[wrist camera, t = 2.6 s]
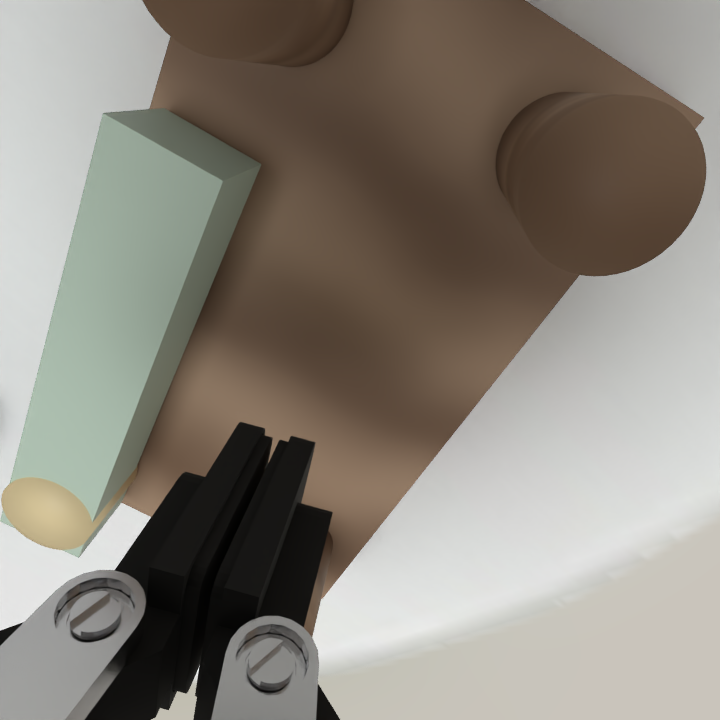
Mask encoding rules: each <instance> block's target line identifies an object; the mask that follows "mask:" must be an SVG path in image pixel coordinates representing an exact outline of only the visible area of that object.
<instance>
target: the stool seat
mask: <svg viewBox="0 0 720 720" xmlns="http://www.w3.org/2000/svg"><path fill="white" fill-rule="evenodd" d="M142 1H143V2H144V4H145V6H146V7H147V9H148V11H149V12H150V14H151V15H152V16H153V18H154V19H155V20H156V22H157V23H158V24H159V25H160V26H161V27H162V28H163V29H164V31H165V32H167V33H168V34H169V35H170V36H171V37H170V41H169V44H168V47H167V51H166V54H165V58H164V61H163V65H162V68H161V71H160V75H159V78H158V82H157V85H156V88H155V92H154V95H153V99H152V102H151V106H150V109H159V108H165V109H167V110H168V111H170V112H172V113H174V114H175V115H177V116H179V117H180V118H182V119H184V120H186V121H187V122H189V123H191V124H193V125H194V126H196V127H198V128H200V129H201V130H203V131H205V132H207V133H208V134H210V135H212V136H213V137H215V138H217V139H219V140H220V141H222V142H224V143H226V144H227V145H229V146H231V147H233V148H234V149H236V150H238V151H240V152H241V153H243V154H245V155H247V156H248V157H250V158H252V159H253V160H255V161H257V162H259V163H260V164H261V167H260V169H259V172H258V174H257V176H256V179H255V181H254V184H253V186H252V189H251V191H250V193H249V196H248V198H247V201H246V203H245V205H244V208H243V210H242V213H241V215H240V218H239V220H238V222H237V225H236V227H235V230H234V232H233V235H232V237H231V239H230V242H229V244H228V247H227V249H226V251H225V254H224V256H223V259H222V261H221V264H220V266H219V268H218V271H217V273H216V276H215V278H214V281H213V283H212V285H211V288H210V290H209V293H208V295H207V297H206V300H205V302H204V305H203V307H202V310H201V312H200V314H199V317H198V319H197V322H196V324H195V327H194V329H193V331H192V334H191V336H190V339H189V341H188V343H187V346H186V348H185V351H184V353H183V356H182V358H181V360H180V363H179V365H178V368H177V370H176V373H175V375H174V377H173V380H172V382H171V385H170V387H169V389H168V392H167V394H166V397H165V399H164V402H163V404H162V406H161V409H160V411H159V414H158V416H157V419H156V421H155V423H154V426H153V428H152V431H151V433H150V435H149V438H148V440H147V443H146V445H145V448H144V450H143V452H142V455H141V457H140V460H139V462H138V464H137V475H136V477H135V479H134V481H133V482H132V483H131V484H130V486H129V487H128V489H127V491H126V494H125V496H124V498H123V501H122V502H121V503H124V504H126V505H128V506H130V507H132V508H134V509H136V510H138V511H140V512H142V513H144V514H146V515H149V516H151V517H152V516H153V514H154V513H155V511H156V510H157V508H158V507H159V506H160V504H161V503H162V501H163V500H164V498H165V497H166V495H167V494H168V492H169V491H170V490H171V488H172V487H173V485H174V484H175V482H176V481H177V479H178V478H179V477H180V476H181V474H182V473H184V472H189V473H193V474H196V475H200V476H204V477H205V476H206V475H207V473H208V471H209V470H210V468H211V467H212V465H213V463H214V462H215V460H216V459H217V457H218V455H219V454H220V452H221V450H222V449H223V447H224V446H225V444H226V442H227V441H228V439H229V438H230V436H231V434H232V433H233V431H234V430H235V428H236V426H237V425H238V423H239V422H244V423H247V424H251V425H255V426H258V427H262V428H265V436H269V437H272V438H273V441H272V446H271V451H270V456H269V461H270V459H271V457H272V454H273V452H274V450H275V448H276V446H277V444H278V442H279V440H284V441H287V442H288V441H289V439H290V437H291V436H295V437H298V438H302V439H306V440H309V441H313V442H316V443H315V448H314V453H313V457H312V461H311V465H310V469H309V473H308V477H307V482H306V486H305V490H304V494H303V498H302V502H301V503H302V504H305V505H309V506H313V507H316V508H320V509H324V510H327V511H331V512H333V514H332V518H331V522H330V526H329V530H328V534H327V538H326V542H325V546H324V550H323V553H322V557H321V561H320V565H319V569H318V573H317V577H316V581H315V585H314V589H313V593H312V597H311V601H310V605H309V609H308V613H307V617H306V621H305V625H304V629H305V630H306V631H307V632H308V633H309V634H310V635H311V637H312V635H313V631H314V627H315V623H316V618H317V614H318V610H319V605H320V601H321V599H322V598H323V597H324V596H325V595H326V593H327V592H328V591H329V589H330V588H331V587H332V586H333V584H334V583H335V582H336V581H337V579H338V578H339V577H340V576H341V574H342V573H343V572H344V571H345V569H346V568H347V567H348V566H349V564H350V563H351V562H352V561H353V559H354V558H355V557H356V556H357V554H358V553H359V552H360V550H361V549H362V548H363V547H364V545H365V544H366V543H367V542H368V540H369V539H370V538H371V537H372V535H373V534H374V533H375V532H376V530H377V529H378V528H379V527H380V525H381V524H382V523H383V522H384V520H385V519H386V518H387V516H388V515H389V514H390V513H391V511H392V510H393V509H394V508H395V506H396V505H397V504H398V503H399V501H400V500H401V499H402V498H403V496H404V495H405V494H406V493H407V491H408V490H409V489H410V488H411V486H412V485H413V484H414V483H415V481H416V480H417V479H418V477H419V476H420V475H421V474H422V472H423V471H424V470H425V469H426V467H427V466H428V465H429V464H430V462H431V461H432V460H433V459H434V457H435V456H436V455H437V454H438V452H439V451H440V450H441V449H442V447H443V446H444V445H445V443H446V442H447V441H448V440H449V438H450V437H451V436H452V435H453V433H454V432H455V431H456V430H457V428H458V427H459V426H460V425H461V423H462V422H463V421H464V420H465V418H466V417H467V416H468V415H469V413H470V412H471V411H472V410H473V408H474V407H475V406H476V404H477V403H478V402H479V401H480V399H481V398H482V397H483V396H484V394H485V393H486V392H487V391H488V389H489V388H490V387H491V386H492V384H493V383H494V382H495V381H496V379H497V378H498V377H499V376H500V374H501V373H502V372H503V370H504V369H505V368H506V367H507V365H508V364H509V363H510V362H511V360H512V359H513V358H514V357H515V355H516V354H517V353H518V352H519V350H520V349H521V348H522V347H523V345H524V344H525V343H526V342H527V340H528V339H529V338H530V337H531V335H532V334H533V333H534V331H535V330H536V329H537V328H538V326H539V325H540V324H541V323H542V321H543V320H544V319H545V318H546V316H547V315H548V314H549V313H550V311H551V310H552V309H553V308H554V306H555V305H556V304H557V303H558V301H559V300H560V299H561V298H562V296H563V295H564V294H565V292H566V291H567V290H568V289H569V287H570V286H571V285H572V284H573V282H574V281H575V280H576V279H577V277H578V276H579V275H585V276H607V275H613V274H618V273H622V272H626V271H629V270H631V269H634V268H636V267H639V266H641V265H643V264H645V263H647V262H649V261H650V260H652V259H654V258H655V257H656V256H658V255H659V254H661V253H662V252H663V251H665V250H666V249H667V248H668V247H669V246H671V245H672V244H673V243H674V241H675V240H676V239H677V238H678V237H679V236H680V235H681V234H682V232H683V231H684V230H685V229H686V227H687V226H688V224H689V223H690V221H691V220H692V218H693V216H694V214H695V212H696V210H697V208H698V206H699V204H700V201H701V198H702V194H703V191H704V186H705V180H706V160H705V153H704V149H703V145H702V142H701V140H700V138H699V135H698V133H697V132H696V130H695V129H696V128H697V126H698V125H699V124H700V123H701V121H702V120H703V119H704V117H702V116H701V115H699V114H698V113H696V112H695V111H693V110H692V109H690V108H689V107H687V106H686V105H684V104H683V103H681V102H679V101H678V100H676V99H675V98H673V97H672V96H670V95H669V94H667V93H666V92H664V91H663V90H661V89H660V88H658V87H657V86H655V85H653V84H652V83H650V82H649V81H647V80H646V79H644V78H643V77H641V76H640V75H638V74H637V73H635V72H634V71H632V70H631V69H629V68H627V67H626V66H624V65H623V64H621V63H620V62H618V61H617V60H615V59H614V58H612V57H611V56H609V55H608V54H606V53H605V52H603V51H601V50H600V49H598V48H597V47H595V46H594V45H592V44H591V43H589V42H588V41H586V40H585V39H583V38H582V37H580V36H579V35H577V34H575V33H574V32H572V31H571V30H569V29H568V28H566V27H565V26H563V25H562V24H560V23H559V22H557V21H556V20H554V19H553V18H551V17H549V16H548V15H546V14H545V13H543V12H542V11H540V10H539V9H537V8H536V7H534V6H533V5H531V4H530V3H528V2H527V1H525V0H142ZM268 463H269V462H268Z"/></svg>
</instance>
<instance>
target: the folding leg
mask: <svg viewBox="0 0 720 720" xmlns="http://www.w3.org/2000/svg"><path fill="white" fill-rule="evenodd" d="M260 167H261V164H260V163H259V162H257V161H255V160H253V159H252V158H250V157H248V156H247V155H245V154H243V153H241V152H240V151H238V150H236V149H234V148H233V147H231V146H229V145H227V144H226V143H224V142H222V141H220V140H219V139H217V138H215V137H213V136H212V135H210V134H208V133H207V132H205V131H203V130H201V129H200V128H198V127H196V126H194V125H193V124H191V123H189V122H187V121H186V120H184V119H182V118H180V117H179V116H177V115H175V114H174V113H172V112H170V111H168V110H167V109H165V108H159V109H147V110H135V111H123V112H111V113H103V115H102V119H101V123H100V127H99V131H98V135H97V139H96V143H95V147H94V151H93V155H92V159H91V163H90V167H89V171H88V175H87V179H86V183H85V187H84V191H83V195H82V199H81V203H80V207H79V211H78V215H77V219H76V222H75V226H74V230H73V234H72V238H71V242H70V246H69V250H68V254H67V258H66V262H65V266H64V270H63V274H62V278H61V282H60V286H59V290H58V294H57V298H56V302H55V306H54V310H53V314H52V318H51V322H50V326H49V330H48V334H47V338H46V342H45V345H44V349H43V353H42V357H41V361H40V365H39V369H38V373H37V377H36V381H35V385H34V389H33V393H32V397H31V401H30V405H29V409H28V413H27V417H26V421H25V425H24V429H23V433H22V437H21V441H20V445H19V449H18V453H17V457H16V461H15V465H14V468H13V472H12V476H11V480H10V484H9V485H8V486H7V487H6V488H5V490H4V491H3V494H2V499H1V500H2V507H3V512H2V516H1V520H0V522H3V523H5V524H7V525H9V526H11V527H13V528H16V529H17V530H18V531H19V532H20V533H21V534H23V535H24V536H25V537H27V538H28V539H30V540H32V541H34V542H35V543H37V544H40V545H42V546H45V547H48V548H52V549H58V550H63V551H65V552H67V553H70V554H72V555H74V556H76V557H78V558H79V557H80V556H81V554H82V553H83V552H84V550H85V549H86V548H87V546H88V545H89V544H90V543H91V541H92V540H93V539H94V537H95V536H96V535H97V533H98V532H99V531H100V529H101V528H102V527H103V526H104V524H105V523H106V522H107V520H108V519H109V518H110V516H111V515H112V514H113V513H114V511H115V510H116V509H117V507H118V506H119V505H120V503H121V502H122V501H123V498H124V496H125V494H126V491H127V489H128V487H129V486H130V484H131V483H132V482H133V481H134V479H135V477H136V475H137V464H138V462H139V460H140V457H141V455H142V452H143V450H144V448H145V445H146V443H147V440H148V438H149V435H150V433H151V431H152V428H153V426H154V423H155V421H156V419H157V416H158V414H159V411H160V409H161V406H162V404H163V402H164V399H165V397H166V394H167V392H168V389H169V387H170V385H171V382H172V380H173V377H174V375H175V373H176V370H177V368H178V365H179V363H180V360H181V358H182V356H183V353H184V351H185V348H186V346H187V343H188V341H189V339H190V336H191V334H192V331H193V329H194V327H195V324H196V322H197V319H198V317H199V314H200V312H201V310H202V307H203V305H204V302H205V300H206V297H207V295H208V293H209V290H210V288H211V285H212V283H213V281H214V278H215V276H216V273H217V271H218V268H219V266H220V264H221V261H222V259H223V256H224V254H225V251H226V249H227V247H228V244H229V242H230V239H231V237H232V235H233V232H234V230H235V227H236V225H237V222H238V220H239V218H240V215H241V213H242V210H243V208H244V205H245V203H246V201H247V198H248V196H249V193H250V191H251V189H252V186H253V184H254V181H255V179H256V176H257V174H258V172H259V169H260Z"/></svg>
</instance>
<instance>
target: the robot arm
mask: <svg viewBox="0 0 720 720" xmlns="http://www.w3.org/2000/svg"><path fill="white" fill-rule="evenodd" d="M272 441H273V438H272V437H269V436H265V428H262V427H258V426H255V425H251V424H247V423H244V422H239V423H238V425H237V426H236V428H235V430H234V431H233V433H232V434H231V436H230V438H229V439H228V441H227V442H226V444H225V446H224V447H223V449H222V450H221V452H220V454H219V455H218V457H217V459H216V460H215V462H214V463H213V465H212V467H211V468H210V470H209V471H208V473H207V475H206V476H205V477H204V476H200V475H196V474H193V473H189V472H184V473H182V474H181V476H180V477H179V478H178V479H177V481H176V482H175V484H174V485H173V487H172V488H171V490H170V491H169V492H168V494H167V495H166V497H165V498H164V500H163V501H162V503H161V504H160V506H159V507H158V508H157V510H156V511H155V513H154V514H153V516H152V517H151V519H150V520H149V521H148V523H147V524H146V526H145V527H144V529H143V530H142V532H141V533H140V535H139V536H138V537H137V539H136V540H135V542H134V543H133V545H132V546H131V548H130V549H129V550H128V552H127V553H126V555H125V556H124V558H123V559H122V561H121V562H120V564H119V565H118V566H117V568H116V569H115V570H97V571H93V572H88V573H84V574H82V575H79V576H77V577H75V578H73V579H71V580H69V581H68V582H66V583H65V584H64V585H62V586H61V587H60V588H58V589H57V590H56V591H55V592H54V593H53V594H52V595H51V596H50V597H49V598H48V599H47V600H46V601H45V602H44V603H43V604H42V605H41V606H40V607H39V608H38V609H37V610H36V611H35V612H34V613H33V614H32V615H31V616H30V617H29V618H28V619H27V620H26V621H25V622H23V623H20V624H18V625H15V626H12V627H9V628H7V629H4V630H1V631H0V720H151V719H153V718H155V717H156V715H157V713H158V711H159V709H160V708H163V709H166V710H169V708H170V706H171V704H172V701H173V699H174V697H175V694H176V692H177V691H180V692H183V693H187V692H188V690H189V688H190V686H191V684H192V682H193V679H194V677H195V675H196V672H197V670H198V667H199V665H200V667H199V674H198V680H197V687H196V693H195V696H197V701H196V707H195V714H194V720H340V719H339V717H338V715H337V714H336V712H335V711H334V709H333V707H332V706H331V704H330V702H329V701H328V700H327V698H326V696H325V694H324V693H323V691H322V690H321V688H320V686H319V685H318V672H319V659H318V650H317V647H316V645H315V643H314V641H313V638H312V637H311V635H310V634H309V633H308V632H307V631H306V630H305V629H304V625H305V621H306V617H307V613H308V609H309V605H310V601H311V597H312V593H313V589H314V585H315V581H316V577H317V573H318V569H319V565H320V561H321V557H322V553H323V550H324V546H325V542H326V538H327V534H328V530H329V526H330V522H331V518H332V514H333V512H331V511H327V510H324V509H320V508H316V507H313V506H309V505H305V504H302V503H301V502H302V498H303V494H304V490H305V486H306V482H307V477H308V473H309V469H310V465H311V461H312V457H313V453H314V448H315V443H316V442H313V441H309V440H306V439H302V438H298V437H295V436H291V437H290V439H289V441H288V442H287V441H284V440H279V442H278V444H277V446H276V448H275V450H274V452H273V454H272V457H271V459H270V461H269V456H270V451H271V446H272ZM268 462H269V463H268Z"/></svg>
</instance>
